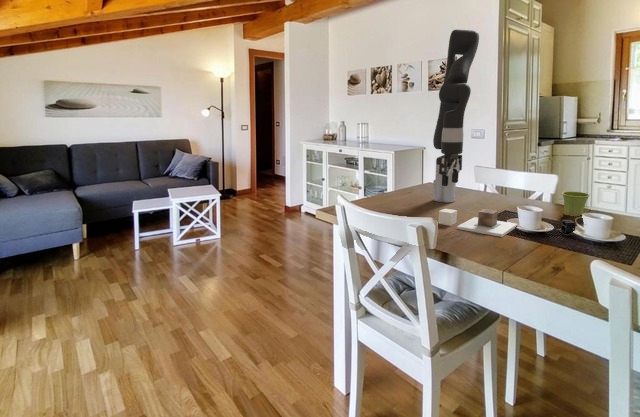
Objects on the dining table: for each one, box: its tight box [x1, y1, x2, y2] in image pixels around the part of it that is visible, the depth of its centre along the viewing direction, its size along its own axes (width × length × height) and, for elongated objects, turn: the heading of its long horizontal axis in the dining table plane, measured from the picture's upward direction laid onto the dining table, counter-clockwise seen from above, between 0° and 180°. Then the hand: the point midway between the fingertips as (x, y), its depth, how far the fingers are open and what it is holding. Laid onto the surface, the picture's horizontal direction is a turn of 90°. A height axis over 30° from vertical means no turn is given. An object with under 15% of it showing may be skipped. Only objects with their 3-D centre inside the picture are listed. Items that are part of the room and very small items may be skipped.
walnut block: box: [477, 208, 499, 227], centre depth 153 cm, size 5×5×5 cm
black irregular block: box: [555, 219, 577, 234], centre depth 146 cm, size 12×7×5 cm, turn 172°
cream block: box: [438, 208, 458, 227], centre depth 160 cm, size 5×5×5 cm
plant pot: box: [561, 190, 591, 218], centre depth 167 cm, size 9×9×9 cm
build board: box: [456, 216, 519, 238], centre depth 153 cm, size 16×16×1 cm
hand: (450, 184), depth 157 cm, fingers open, 8 cm apart
